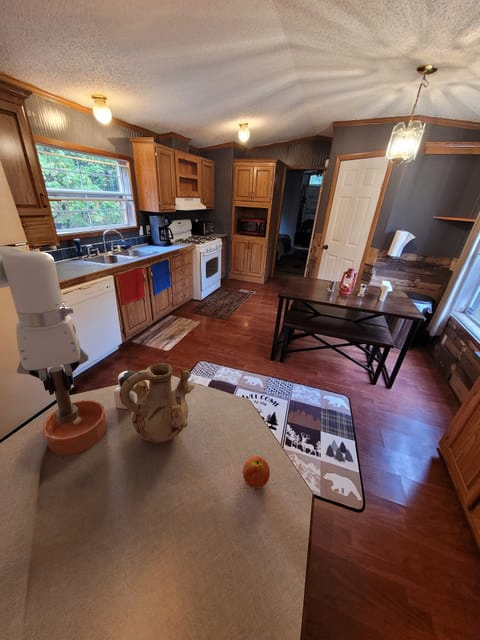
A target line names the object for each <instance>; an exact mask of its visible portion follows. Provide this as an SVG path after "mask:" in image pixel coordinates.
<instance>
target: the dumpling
mask: <svg viewBox="0 0 480 640" xmlns="http://www.w3.org/2000/svg"><path fill="white" fill-rule="evenodd" d="M81 422H82V418H81V417H77V419H76V420H74V421H73V423H74V424H75V425H78V424H80V423H81Z"/></svg>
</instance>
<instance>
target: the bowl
mask: <svg viewBox="0 0 480 640" xmlns="http://www.w3.org/2000/svg"><path fill="white" fill-rule="evenodd" d="M71 403H72V405H75V406H76V407H77V409H78V414H79V415H78V417H81V418H82V422H81V423H80V424H78V425H75V424H74V423H73V422H71V423H68V424H59V423H58V422H57V420H56V416H55V413H56V411H57V410H58V409H59V408H56V409H55V410H54V411H53V412H52V413H51V414H49V416H47V418H46V419H45V421H44V422H43V425H42V434H43V437H44V439H45V442H46V445H47V448H48V449H49V451H50V452H51V453H53V454H55V455H60V456H70V455H75V454H79V453H81V452H83V451H86V450H88V449H90V448H91V447H93V446H94V445H96V444H97V443H98V442H100V440H101V439H102V438H103V437H104V435H105V434H106V431H107V428H108V423H107V417H106V412H105V406H104V405H103V404H102V403H101V402H99V401H96V400H93V399H92V400H91V399H83V400H76V401H73V402H72V401H71Z"/></svg>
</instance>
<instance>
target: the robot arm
mask: <svg viewBox="0 0 480 640" xmlns="http://www.w3.org/2000/svg"><path fill="white" fill-rule="evenodd" d="M8 287H9V290H10V294H11V298H12V300H13V301H12V302H13V305H14V307H15V311H16V315H17V319H18V321H17V323H16V328H15V330H16V332H15V333H16V334H15V335H16V342H17V349H18V350H17V351H18V356H19V359H20V361H19V363H18V366H17V369H16V373H17V374H22V375H29V376H31V377H34V378H36V379H39V381H41V382H42V383H43V387H44V390H45V392H47V391H48V394H49V396H53V395H55V393H54V389H53V385H52V381H51V377H50V373H49V369H48V368H52V367H55V366H62V367H63V369H64V373H65V375H64V379H65V383H66V388H67V391H69V392H70V391H72V386H74V385H75V379H74V375H73V373H74V372H75V370H77V368H79V366H81V365H83V364H84V363H86V362H88V361H89V355H88V354H87V353H86V352H85V351H84V350H83V349H82V348H81V345H80V341H79V337H78V333H77V329H76V327H75V323H74V321H73V319H72V317H71V316H70V314H74V308H73V306H70V307H69V306H66V305H65V303H64V300H63V295H62V291H61V286H60V281H59V277H58V272H57V267H56V261H55V259H54V257H53V256H52V255H51V254H49V253H46V252H43V251H30V250H29V251H28V250H24V249H21V248H18V247H14V246H8V245H0V289H3V288H8Z"/></svg>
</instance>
